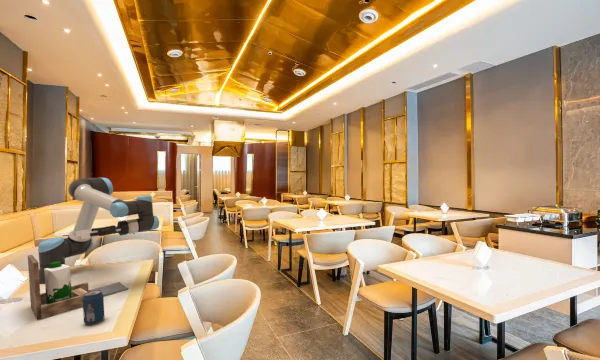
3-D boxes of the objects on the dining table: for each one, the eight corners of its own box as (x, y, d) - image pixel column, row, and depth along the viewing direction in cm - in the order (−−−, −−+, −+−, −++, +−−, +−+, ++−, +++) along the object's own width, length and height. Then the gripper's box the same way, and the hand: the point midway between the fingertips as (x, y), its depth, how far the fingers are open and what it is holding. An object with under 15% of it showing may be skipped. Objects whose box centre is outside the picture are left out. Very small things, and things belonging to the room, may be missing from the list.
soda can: (102, 316, 127) (100, 287, 127) (106, 321, 123) (105, 292, 122) (82, 322, 122) (80, 293, 122) (86, 328, 118) (84, 297, 117)
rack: (87, 291, 155) (85, 245, 154) (98, 302, 141) (96, 251, 141) (30, 307, 139) (27, 255, 138) (37, 320, 125) (33, 263, 125)
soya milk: (66, 300, 145) (64, 259, 144) (75, 304, 140) (72, 261, 140) (44, 307, 137) (41, 264, 137) (52, 312, 133) (49, 267, 132)
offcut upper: (80, 292, 149) (80, 288, 149) (89, 297, 143) (89, 292, 143) (70, 295, 146) (70, 290, 146) (79, 300, 139) (79, 295, 139)
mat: (119, 283, 166) (119, 282, 166) (128, 289, 156) (128, 288, 156) (88, 291, 155) (88, 290, 155) (96, 298, 146) (96, 297, 146)
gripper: (135, 235, 151) (84, 245, 136) (121, 232, 169) (74, 240, 154) (134, 221, 151) (82, 228, 136) (119, 219, 169) (73, 226, 154)
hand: (78, 235), depth 145 cm, fingers open, 13 cm apart
